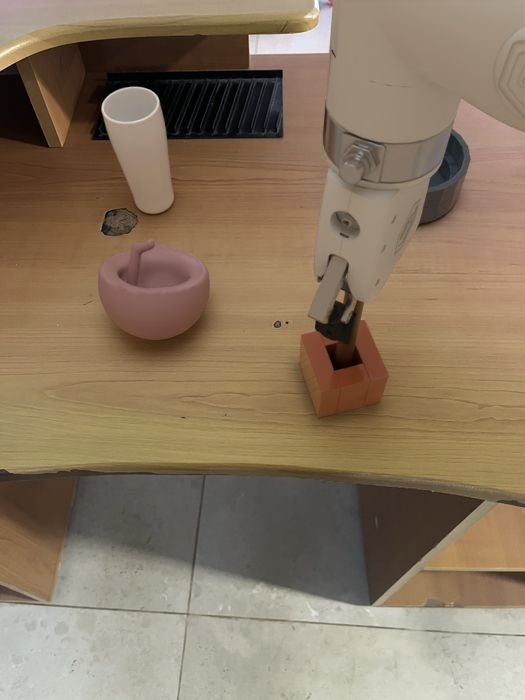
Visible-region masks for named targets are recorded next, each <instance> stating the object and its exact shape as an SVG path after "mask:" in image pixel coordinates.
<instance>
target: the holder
mask: <svg viewBox="0 0 525 700" xmlns="http://www.w3.org/2000/svg"><path fill="white" fill-rule="evenodd" d="M299 342H300V343H299V361H298V364H299V367H300V371H301V373H302V376H303V379H304V381H305V384H306V387H307V391H308V393H309V396H310V399H311V402H312V405H313V408H314V410H315V414H316V416H317V418H318V419H319V418H324V417H328V416H331V415H335V414H336V415H337V414H340V413H343V412H348V411H351V410H355V409H358V408H359V409H360V408H362V407H366V406H369V405H374V404H378V403H380V402H381V401H382V398H383V394H384V392H385V389H386V386H387V383H388V380H389V377H390V373H389V372H388V370H387V367H386V365H385V362H384V360H383V358H382V356H381V354H380V351H379V349H378V347H377V344H376V341H375V339H374V338H373V335H372V333H371V331H370V328H369V326H368V324H367V321H366V319H364V318H363V319H361V320H360V325H359V330H358V334H357V339H356V344H355V348H354V353H353V358H352V362H351V367H348V368H344V369H340V370H336V371H334V368H333V363H334V357H335V350H336V344H337V341H332V340H330V339H328V338H326V337H324V336H323V335H322V334H321V333H320V332H318V331H317V330H313V331H309V332H306V333H301V334H300V340H299Z"/></svg>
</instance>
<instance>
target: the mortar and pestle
mask: <svg viewBox="0 0 525 700" xmlns="http://www.w3.org/2000/svg"><path fill="white" fill-rule="evenodd" d="M97 273H98V274H97V275H98V278H97V287H98V289H97V291H98V295H99V300H100V302H101V305H102V307H103V309H104V311H105V313H106V314H107V316H108V317H109V318H110V320H111V321H112V322H113V323H114V325H116V326H117V327H119V329H121V330H122V331H124V332H126V334H127V333H128V334H129V335H131V336H133V337H136V338H140V339H143V340H151V341H158V340H159V341H161V340H167V339H171V338H174V337H176V336H179V335H181V334H183V333H185V332H186V331H187V330H189V329H190V328H192V326H194V325H195V323H197V321H198V320H199V319H200V318H201V316H202V315H203V313H204V311H205V309H206V307H207V304H208V301H209V296H210V289H211V288H210V287H211V281H210V273H209V269H208V267H207V266H206V264H205V263H204V262H203V260H202V259H200V258H199V257H198V256H197V255H194V254H193V253H191V252H189V251H186V250H185V249H183V248H179V247H176V246H172V245H169V244H157V245H156V242H155V240H154V239H153V238H148V239H147V240H145V241H142V242H137V241H136V242H133V243H132V245H131V247H130V249H128V250H125V251H121V252H118V253H115V254H114V255H112V256H110V257H108V258H106V259H105V260H104V261H103V262H102V263H101V265H99V267H98V272H97Z"/></svg>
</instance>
